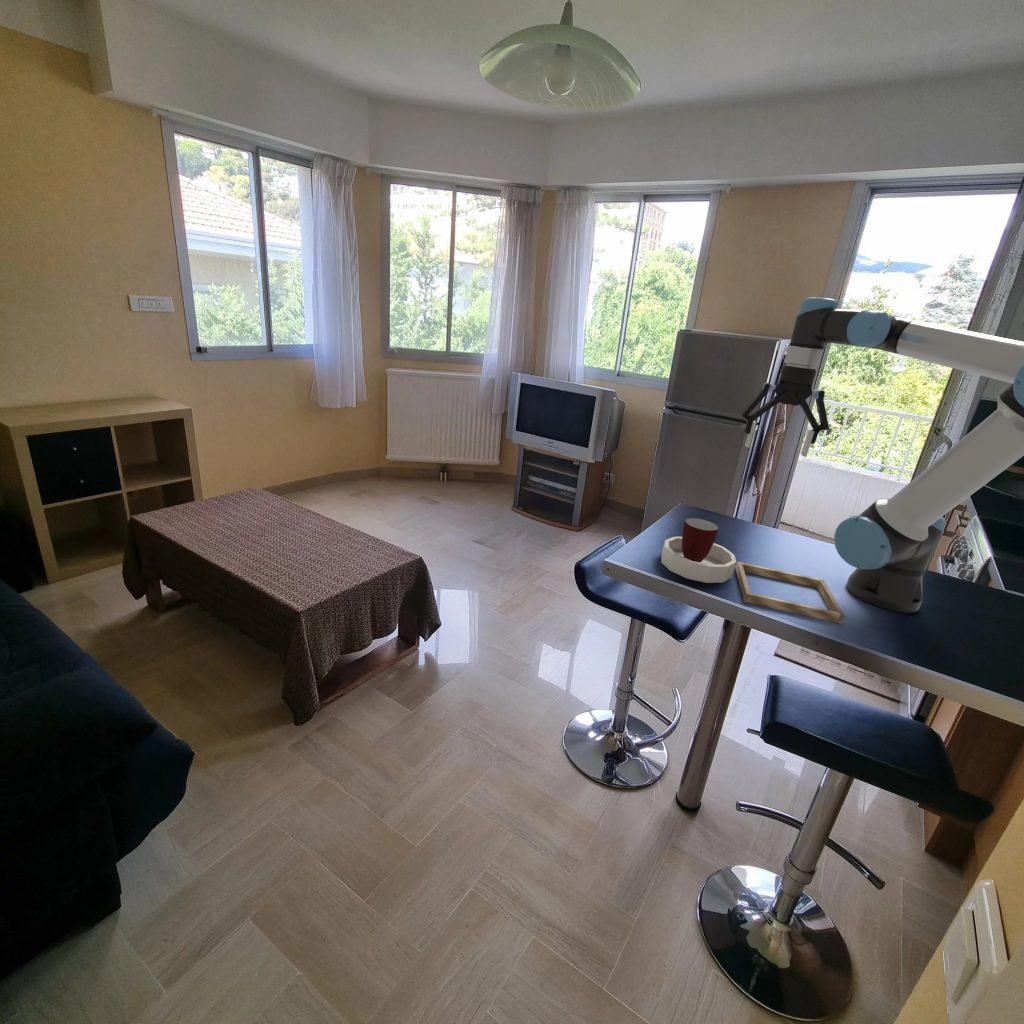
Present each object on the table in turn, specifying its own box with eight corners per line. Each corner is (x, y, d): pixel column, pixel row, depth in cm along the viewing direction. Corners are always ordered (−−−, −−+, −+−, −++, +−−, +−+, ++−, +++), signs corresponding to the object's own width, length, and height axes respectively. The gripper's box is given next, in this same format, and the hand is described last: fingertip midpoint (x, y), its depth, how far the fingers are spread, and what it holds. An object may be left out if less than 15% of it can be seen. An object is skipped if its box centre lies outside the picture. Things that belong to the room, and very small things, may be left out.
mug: (700, 574, 125) (710, 536, 121) (668, 562, 129) (677, 525, 125) (712, 560, 133) (722, 525, 130) (681, 550, 137) (690, 515, 134)
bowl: (727, 560, 137) (731, 545, 135) (734, 589, 121) (739, 572, 120) (661, 546, 140) (665, 531, 139) (660, 572, 125) (664, 556, 123)
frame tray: (820, 586, 128) (823, 579, 127) (842, 623, 111) (845, 615, 110) (735, 568, 132) (737, 561, 131) (744, 601, 116) (746, 593, 115)
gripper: (851, 372, 127) (823, 456, 134) (744, 359, 132) (723, 440, 140) (861, 374, 120) (831, 462, 127) (748, 360, 126) (725, 445, 133)
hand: (774, 451), depth 134 cm, fingers open, 13 cm apart
